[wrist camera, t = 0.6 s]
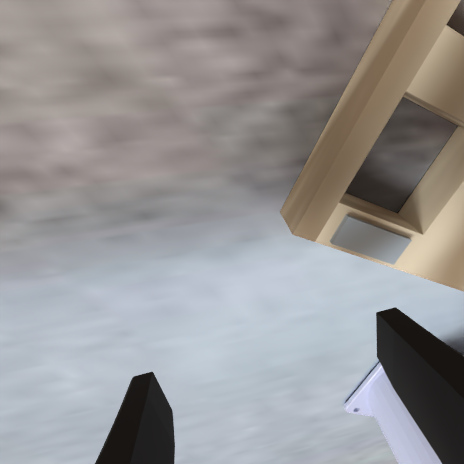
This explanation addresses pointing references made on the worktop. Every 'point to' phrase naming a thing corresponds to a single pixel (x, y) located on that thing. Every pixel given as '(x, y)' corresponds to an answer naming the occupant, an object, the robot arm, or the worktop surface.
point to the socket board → (365, 135)
